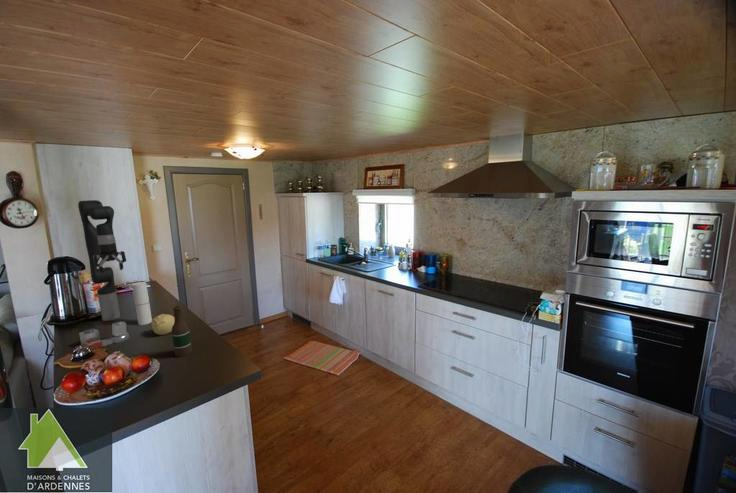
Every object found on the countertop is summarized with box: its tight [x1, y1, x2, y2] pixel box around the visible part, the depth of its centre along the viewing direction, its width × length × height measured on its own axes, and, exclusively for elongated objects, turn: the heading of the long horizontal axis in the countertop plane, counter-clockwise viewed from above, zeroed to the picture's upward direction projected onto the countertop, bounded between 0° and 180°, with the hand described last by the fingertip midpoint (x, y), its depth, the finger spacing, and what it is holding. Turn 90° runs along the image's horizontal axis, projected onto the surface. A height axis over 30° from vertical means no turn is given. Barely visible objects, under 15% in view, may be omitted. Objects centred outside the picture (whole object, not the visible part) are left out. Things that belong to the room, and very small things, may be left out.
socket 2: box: [111, 321, 127, 337], centre depth 180 cm, size 5×5×7 cm
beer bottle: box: [171, 305, 193, 358], centre depth 161 cm, size 8×8×24 cm
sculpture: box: [151, 313, 175, 336], centre depth 188 cm, size 12×12×11 cm
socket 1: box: [78, 328, 101, 346], centre depth 177 cm, size 6×6×8 cm
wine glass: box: [75, 331, 130, 350], centre depth 175 cm, size 8×22×7 cm, turn 140°
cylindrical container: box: [131, 281, 153, 326], centre depth 202 cm, size 7×7×25 cm
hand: (112, 271), depth 185 cm, fingers open, 8 cm apart
